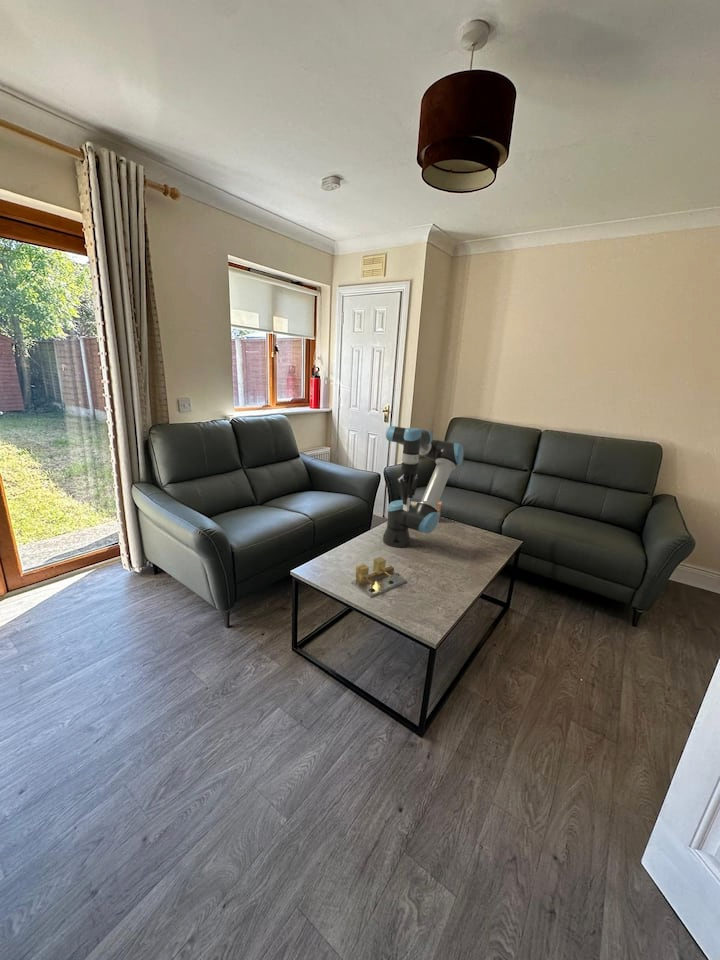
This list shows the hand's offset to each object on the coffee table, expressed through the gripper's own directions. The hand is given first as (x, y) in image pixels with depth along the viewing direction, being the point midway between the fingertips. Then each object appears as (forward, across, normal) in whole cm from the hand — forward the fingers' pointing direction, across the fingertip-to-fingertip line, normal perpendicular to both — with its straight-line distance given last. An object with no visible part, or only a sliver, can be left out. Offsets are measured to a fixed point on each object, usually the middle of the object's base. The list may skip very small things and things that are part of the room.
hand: (405, 510), depth 184 cm
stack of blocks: (+28, +52, +33) cm, 68 cm away
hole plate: (+27, -22, -8) cm, 36 cm away
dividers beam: (+26, -21, -8) cm, 35 cm away
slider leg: (+26, -19, -8) cm, 33 cm away
